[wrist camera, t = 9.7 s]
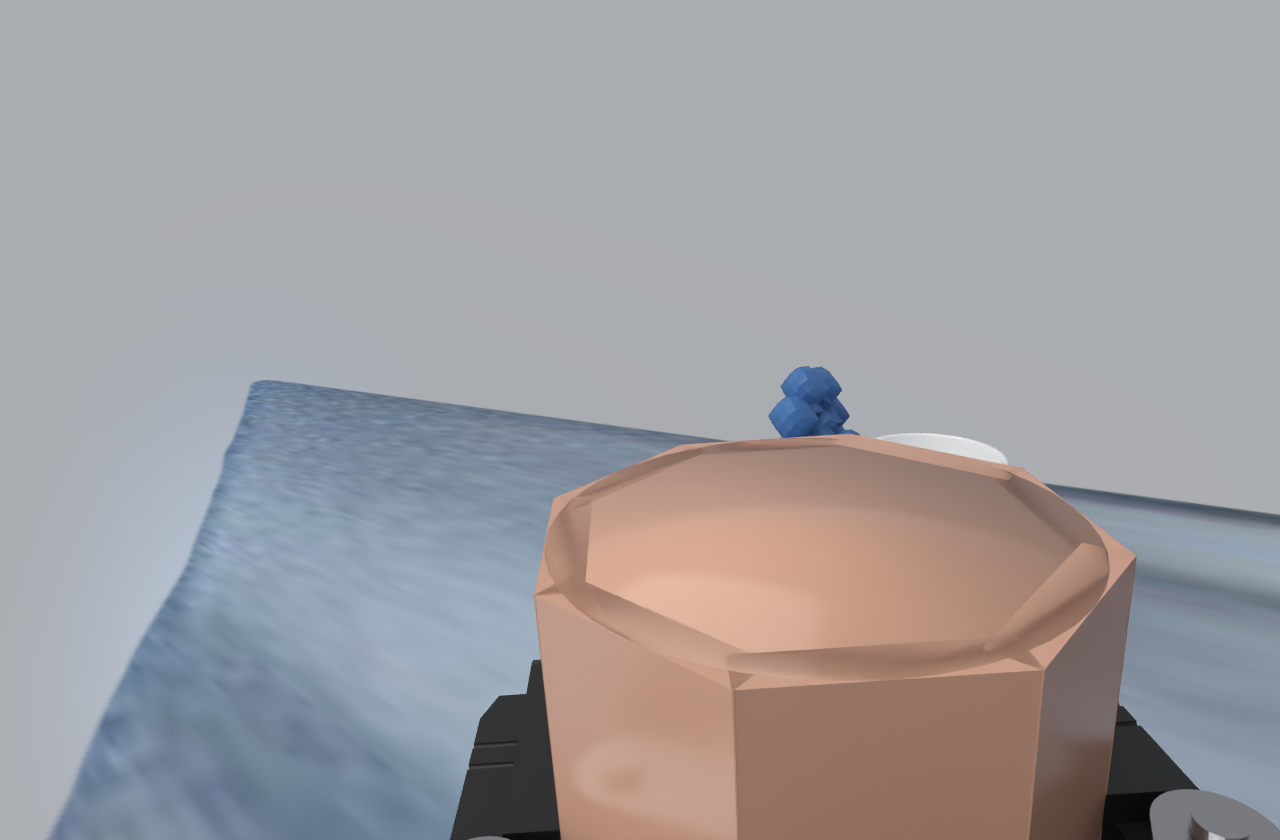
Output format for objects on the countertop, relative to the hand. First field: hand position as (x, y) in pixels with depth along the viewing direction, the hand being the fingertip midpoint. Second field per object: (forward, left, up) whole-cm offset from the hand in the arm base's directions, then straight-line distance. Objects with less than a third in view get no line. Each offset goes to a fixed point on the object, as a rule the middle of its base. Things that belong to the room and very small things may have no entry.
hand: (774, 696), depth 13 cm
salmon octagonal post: (-2, +1, -6) cm, 6 cm away
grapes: (+28, -35, -18) cm, 48 cm away
